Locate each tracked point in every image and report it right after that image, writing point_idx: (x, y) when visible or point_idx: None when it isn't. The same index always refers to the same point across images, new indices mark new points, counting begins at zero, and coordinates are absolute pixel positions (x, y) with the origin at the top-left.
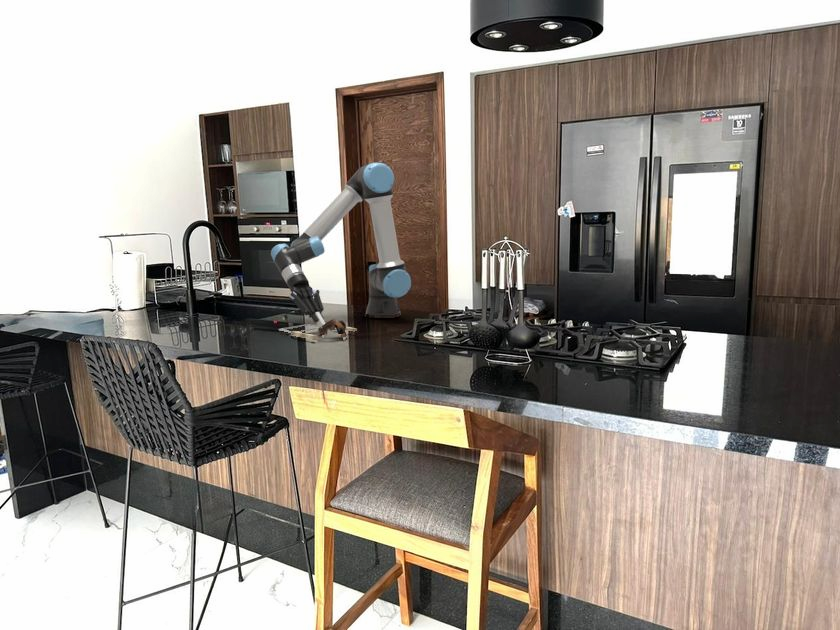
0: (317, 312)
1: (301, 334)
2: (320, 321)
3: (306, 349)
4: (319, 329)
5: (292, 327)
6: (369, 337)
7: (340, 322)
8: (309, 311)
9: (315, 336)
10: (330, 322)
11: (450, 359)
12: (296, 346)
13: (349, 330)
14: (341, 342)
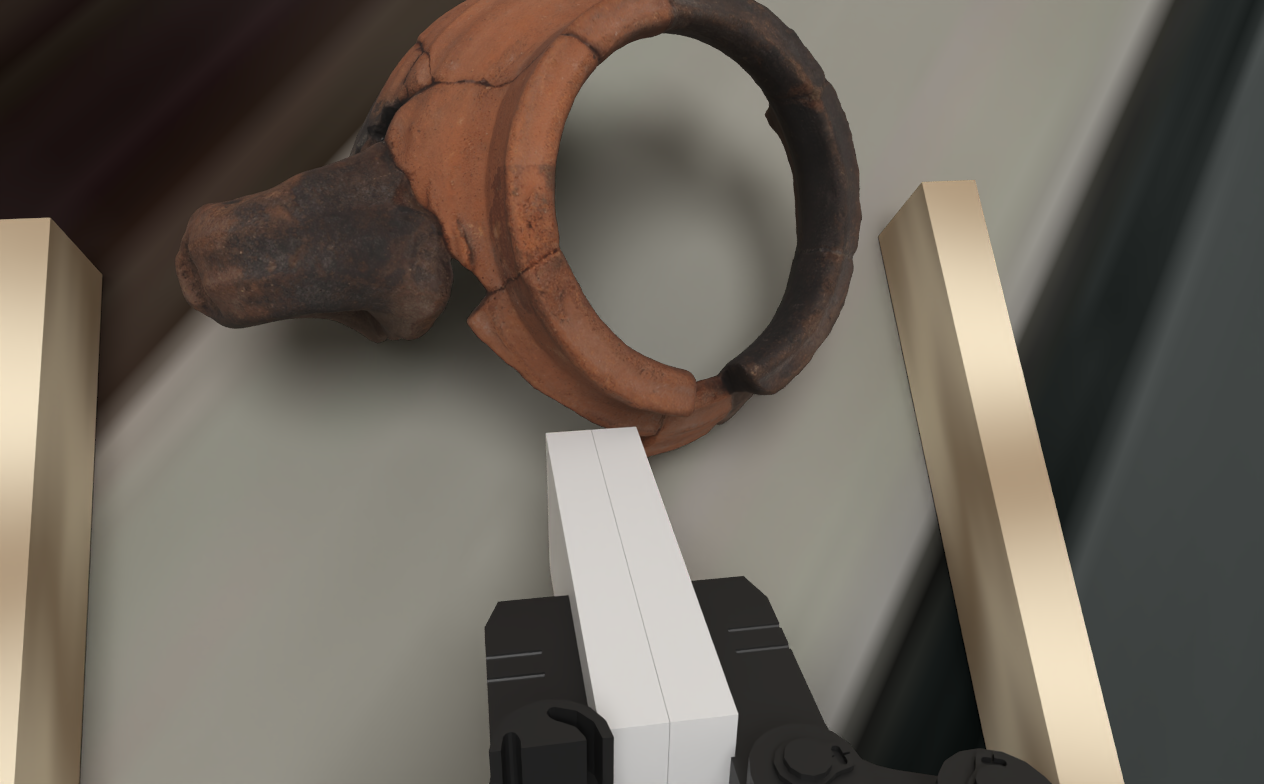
0: (666, 709)
1: (1052, 532)
2: (664, 513)
3: (1156, 17)
4: (860, 217)
5: None
6: (39, 17)
7: (352, 159)
8: (964, 753)
9: (951, 184)
10: (719, 8)
11: None
12: (1206, 235)
13: (61, 380)
14: None
